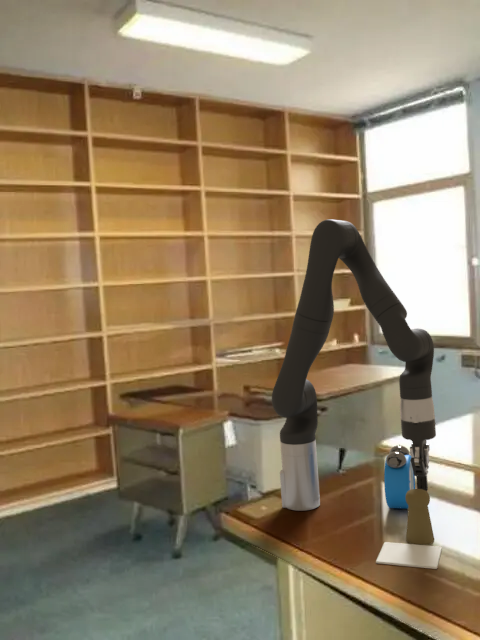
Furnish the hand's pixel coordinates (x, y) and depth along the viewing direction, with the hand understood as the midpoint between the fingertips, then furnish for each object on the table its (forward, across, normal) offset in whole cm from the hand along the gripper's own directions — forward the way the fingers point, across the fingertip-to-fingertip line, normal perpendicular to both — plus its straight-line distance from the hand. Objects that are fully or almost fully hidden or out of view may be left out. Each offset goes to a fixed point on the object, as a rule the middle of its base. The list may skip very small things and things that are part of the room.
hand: (422, 491), depth 149 cm
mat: (+8, +16, -1) cm, 18 cm away
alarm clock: (+9, -12, -7) cm, 16 cm away
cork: (+9, +7, 0) cm, 11 cm away
